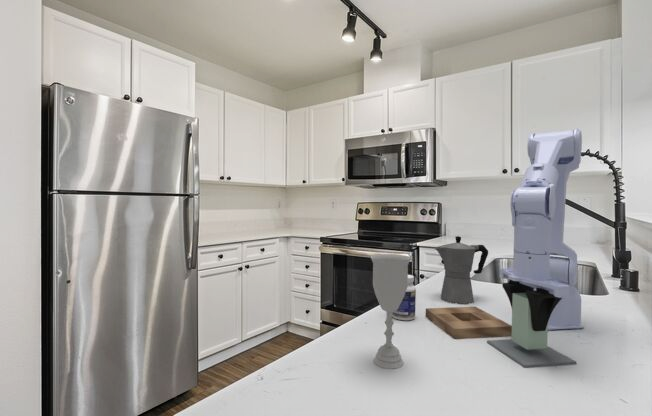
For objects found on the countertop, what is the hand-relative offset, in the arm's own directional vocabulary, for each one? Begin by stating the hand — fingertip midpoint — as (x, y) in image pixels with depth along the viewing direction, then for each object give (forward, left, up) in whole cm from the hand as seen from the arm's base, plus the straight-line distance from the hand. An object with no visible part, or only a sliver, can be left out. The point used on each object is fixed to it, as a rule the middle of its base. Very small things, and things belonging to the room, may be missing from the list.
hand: (529, 325), depth 62 cm
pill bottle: (+16, -21, -5) cm, 27 cm away
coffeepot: (-6, -33, -5) cm, 34 cm away
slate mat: (0, 0, -5) cm, 5 cm away
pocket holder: (+4, -14, -5) cm, 15 cm away
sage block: (0, 0, -3) cm, 3 cm away
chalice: (+27, 0, -5) cm, 27 cm away
